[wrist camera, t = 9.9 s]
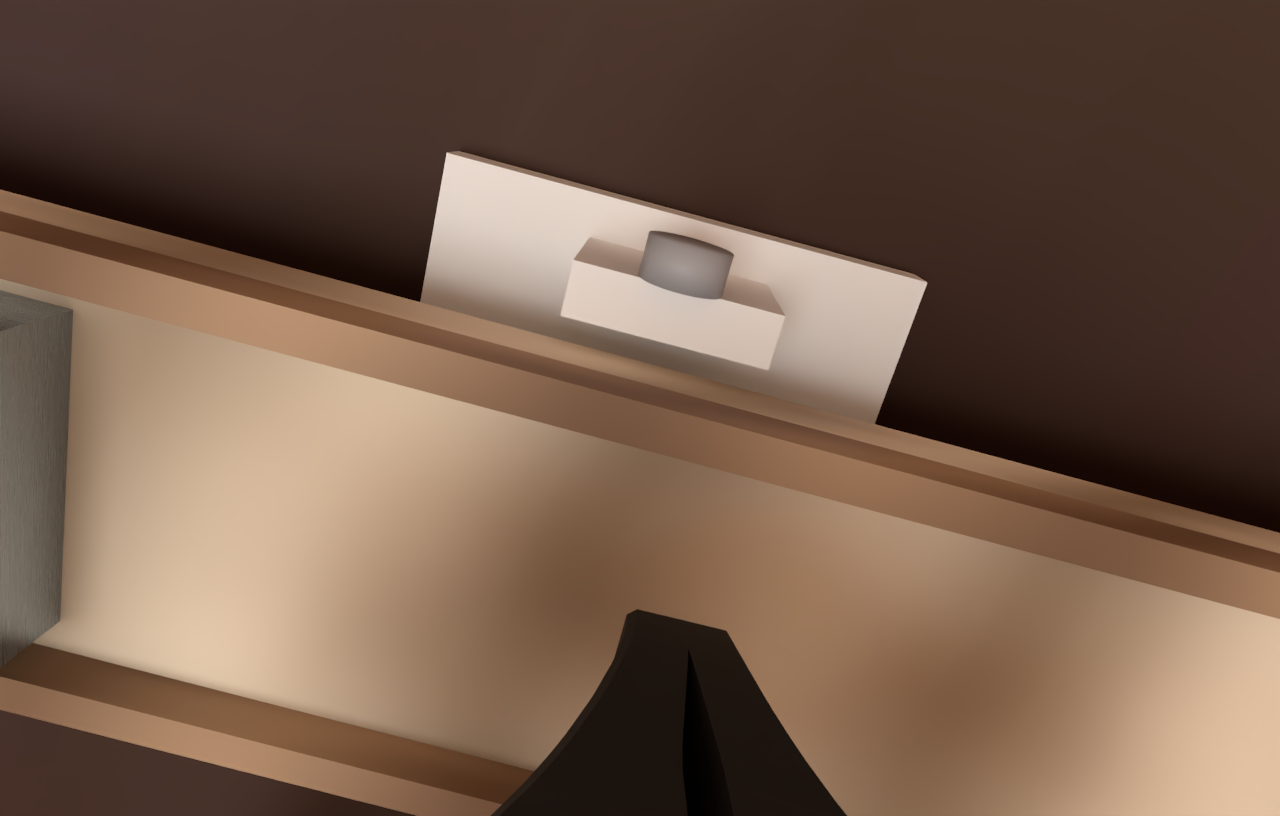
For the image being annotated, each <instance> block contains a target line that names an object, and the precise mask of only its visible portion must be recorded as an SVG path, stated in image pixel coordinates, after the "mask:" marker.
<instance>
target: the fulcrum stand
mask: <svg viewBox="0 0 1280 816" xmlns="http://www.w3.org/2000/svg"><path fill="white" fill-rule="evenodd" d="M926 285H927V282H926V281H924V280H923V279H921V278H920V277H918V276H916V275H915V274H912V273H908V272H905V271H901V270H897V269H894V268H890V267H886V266H882V265H879V264H875V263H871V262H868V261H864V260H860V259H857V258H853V257H849V256H845V255H842V254H838V253H834V252H831V251H827V250H823V249H819V248H816V247H812V246H808V245H805V244H801V243H797V242H794V241H790V240H786V239H782V238H779V237H775V236H771V235H768V234H764V233H760V232H757V231H753V230H749V229H745V228H742V227H738V226H734V225H731V224H727V223H723V222H720V221H716V220H712V219H708V218H705V217H701V216H697V215H694V214H690V213H686V212H683V211H679V210H675V209H671V208H668V207H664V206H660V205H657V204H653V203H649V202H646V201H642V200H638V199H634V198H631V197H627V196H623V195H620V194H616V193H612V192H609V191H605V190H601V189H597V188H594V187H590V186H586V185H583V184H579V183H575V182H572V181H568V180H564V179H560V178H557V177H553V176H549V175H546V174H542V173H538V172H535V171H531V170H527V169H523V168H520V167H516V166H512V165H509V164H505V163H501V162H498V161H494V160H490V159H486V158H483V157H479V156H475V155H472V154H468V153H464V152H461V151H456V152H448V153H447V154H446V160H445V166H444V171H443V177H442V183H441V188H440V194H439V199H438V205H437V211H436V216H435V222H434V228H433V233H432V239H431V245H430V250H429V256H428V261H427V267H426V273H425V278H424V284H423V290H422V295H421V301H420V302H421V303H425V304H429V305H432V306H436V307H440V308H444V309H447V310H451V311H455V312H458V313H462V314H466V315H470V316H473V317H477V318H481V319H485V320H488V321H492V322H496V323H499V324H503V325H507V326H511V327H514V328H518V329H522V330H526V331H529V332H533V333H537V334H540V335H544V336H548V337H552V338H555V339H559V340H563V341H567V342H570V343H574V344H578V345H581V346H585V347H589V348H593V349H596V350H600V351H604V352H608V353H611V354H615V355H619V356H622V357H626V358H630V359H634V360H637V361H641V362H645V363H648V364H652V365H656V366H660V367H663V368H667V369H671V370H675V371H678V372H682V373H686V374H689V375H693V376H697V377H701V378H704V379H708V380H712V381H716V382H719V383H723V384H727V385H730V386H734V387H738V388H742V389H745V390H749V391H753V392H757V393H760V394H764V395H768V396H771V397H775V398H779V399H783V400H786V401H790V402H794V403H797V404H801V405H805V406H809V407H812V408H816V409H820V410H824V411H827V412H831V413H835V414H838V415H842V416H846V417H850V418H853V419H857V420H861V421H865V422H868V423H872V424H875V421H876V419H877V416H878V413H879V411H880V408H881V405H882V403H883V400H884V397H885V395H886V392H887V389H888V387H889V384H890V381H891V379H892V376H893V373H894V371H895V368H896V365H897V363H898V360H899V357H900V355H901V352H902V349H903V347H904V344H905V341H906V339H907V336H908V333H909V331H910V328H911V325H912V322H913V320H914V317H915V314H916V312H917V309H918V306H919V304H920V301H921V298H922V296H923V293H924V290H925V288H926Z"/></svg>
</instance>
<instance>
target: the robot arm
mask: <svg viewBox="0 0 1280 816" xmlns="http://www.w3.org/2000/svg"><path fill="white" fill-rule="evenodd" d="M491 816H847V815H846V814H845V812H844V811H843V810H842V809H841V807H840V806H839V805H838V804H837V802H836V801H835V800H834V798H833V797H832V796H831V794H830V793H829V791H828V790H827V789H826V787H825V786H824V785H823V783H822V782H821V781H820V779H819V778H818V776H817V775H816V774H815V772H814V771H813V770H812V768H811V767H810V765H809V764H808V763H807V761H806V760H805V758H804V757H803V755H802V754H801V753H800V751H799V750H798V748H797V747H796V745H795V744H794V742H793V741H792V739H791V738H790V736H789V735H788V733H787V732H786V730H785V729H784V727H783V725H782V724H781V722H780V721H779V719H778V717H777V716H776V714H775V713H774V711H773V710H772V708H771V706H770V705H769V703H768V701H767V700H766V698H765V696H764V695H763V693H762V691H761V689H760V688H759V686H758V684H757V683H756V681H755V679H754V677H753V676H752V674H751V672H750V671H749V669H748V667H747V665H746V664H745V662H744V660H743V658H742V657H741V655H740V653H739V651H738V650H737V648H736V646H735V645H734V643H733V641H732V639H731V638H730V636H729V634H728V633H727V631H726V630H722V629H718V628H714V627H710V626H705V625H701V624H697V623H693V622H689V621H685V620H680V619H676V618H672V617H668V616H664V615H660V614H656V613H651V612H647V611H643V610H639V609H637V610H635V611H633V612H631V613H629V614H627V615H626V619H625V622H624V626H623V629H622V633H621V636H620V640H619V643H618V647H617V650H616V654H615V657H614V659H613V661H612V663H611V665H610V667H609V669H608V670H607V672H606V674H605V676H604V677H603V679H602V681H601V683H600V684H599V686H598V688H597V690H596V691H595V693H594V694H593V696H592V698H591V699H590V701H589V702H588V703H587V705H586V706H585V708H584V709H583V710H582V712H581V713H580V715H579V716H578V717H577V719H576V720H575V722H574V723H573V724H572V726H571V727H570V729H569V730H568V731H567V733H566V734H565V735H564V737H563V738H562V739H561V740H560V742H559V743H558V744H557V745H556V747H555V748H554V749H553V750H552V752H551V753H550V754H549V755H548V756H547V758H546V759H545V760H544V761H543V762H542V763H541V764H540V765H539V767H538V768H537V769H536V770H535V771H534V772H533V773H532V774H531V776H530V777H529V778H528V779H527V780H526V781H525V782H524V783H523V784H522V785H521V786H520V787H519V788H518V789H517V790H516V791H515V792H514V793H513V794H512V795H511V796H510V797H509V798H508V799H507V800H506V801H505V802H504V803H503V804H502V805H501V806H500V807H499V808H498V809H497V810H496V811H495V812H494V813H493V814H492V815H491Z"/></svg>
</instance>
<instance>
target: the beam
mask: <svg viewBox="0 0 1280 816" xmlns="http://www.w3.org/2000/svg"><path fill="white" fill-rule="evenodd" d="M0 290H2V291H5V292H9V293H13V294H17V295H20V296H24V297H28V298H32V299H35V300H39V301H43V302H47V303H51V304H54V305H58V306H62V307H66V308H69V309H73V329H72V353H71V377H70V400H69V424H68V448H67V472H66V496H65V519H64V543H63V567H62V591H61V615H60V622H58V623H57V624H56V625H54V626H53V627H52V628H51V629H49V630H48V631H47V632H45V633H44V634H43V635H42V636H40V637H39V638H38V639H36V640H35V641H34V642H33V643H31V644H30V645H29V646H27V647H26V648H25V649H24V650H22V651H21V652H20V653H18V654H17V655H16V656H15V657H13V658H12V659H11V660H10V661H8V662H7V663H6V664H4V665H3V666H2V667H1V668H0V710H4V711H8V712H12V713H15V714H19V715H23V716H27V717H31V718H35V719H39V720H43V721H47V722H51V723H55V724H59V725H63V726H67V727H71V728H74V729H78V730H82V731H86V732H90V733H94V734H98V735H102V736H106V737H110V738H114V739H118V740H122V741H126V742H130V743H133V744H137V745H141V746H145V747H149V748H153V749H157V750H161V751H165V752H169V753H173V754H177V755H181V756H185V757H189V758H192V759H196V760H200V761H204V762H208V763H212V764H216V765H220V766H224V767H228V768H232V769H236V770H240V771H244V772H247V773H251V774H255V775H259V776H263V777H267V778H271V779H275V780H279V781H283V782H287V783H291V784H295V785H299V786H303V787H306V788H310V789H314V790H318V791H322V792H326V793H330V794H334V795H338V796H342V797H346V798H350V799H354V800H358V801H362V802H365V803H369V804H373V805H377V806H381V807H385V808H389V809H393V810H397V811H401V812H405V813H409V814H413V815H417V816H491V815H492V814H493V813H494V812H495V811H496V810H497V809H498V808H499V807H500V806H501V805H502V804H503V803H504V802H505V801H506V800H507V799H508V798H509V797H510V796H511V795H512V794H513V793H514V792H515V791H516V790H517V789H518V788H519V787H520V786H521V785H522V784H523V783H524V782H525V781H526V780H527V779H528V778H529V777H530V776H531V774H532V773H533V772H534V771H535V770H536V769H537V768H538V767H539V765H540V764H541V763H542V762H543V761H544V760H545V759H546V758H547V756H548V755H549V754H550V753H551V752H552V750H553V749H554V748H555V747H556V745H557V744H558V743H559V742H560V740H561V739H562V738H563V737H564V735H565V734H566V733H567V731H568V730H569V729H570V727H571V726H572V724H573V723H574V722H575V720H576V719H577V717H578V716H579V715H580V713H581V712H582V710H583V709H584V708H585V706H586V705H587V703H588V702H589V701H590V699H591V698H592V696H593V694H594V693H595V691H596V690H597V688H598V686H599V684H600V683H601V681H602V679H603V677H604V676H605V674H606V672H607V670H608V669H609V667H610V665H611V663H612V661H613V659H614V657H615V654H616V650H617V647H618V643H619V640H620V636H621V633H622V629H623V626H624V622H625V619H626V615H627V614H629V613H631V612H633V611H635V610H637V609H639V610H643V611H647V612H651V613H656V614H660V615H664V616H668V617H672V618H676V619H680V620H685V621H689V622H693V623H697V624H701V625H705V626H710V627H714V628H718V629H722V630H726V631H727V633H728V634H729V636H730V638H731V639H732V641H733V643H734V645H735V646H736V648H737V650H738V651H739V653H740V655H741V657H742V658H743V660H744V662H745V664H746V665H747V667H748V669H749V671H750V672H751V674H752V676H753V677H754V679H755V681H756V683H757V684H758V686H759V688H760V689H761V691H762V693H763V695H764V696H765V698H766V700H767V701H768V703H769V705H770V706H771V708H772V710H773V711H774V713H775V714H776V716H777V717H778V719H779V721H780V722H781V724H782V725H783V727H784V729H785V730H786V732H787V733H788V735H789V736H790V738H791V739H792V741H793V742H794V744H795V745H796V747H797V748H798V750H799V751H800V753H801V754H802V755H803V757H804V758H805V760H806V761H807V763H808V764H809V765H810V767H811V768H812V770H813V771H814V772H815V774H816V775H817V776H818V778H819V779H820V781H821V782H822V783H823V785H824V786H825V787H826V789H827V790H828V791H829V793H830V794H831V796H832V797H833V798H834V800H835V801H836V802H837V804H838V805H839V806H840V807H841V809H842V810H843V811H844V812H845V814H846V815H847V816H1280V533H1278V532H1274V531H1271V530H1267V529H1263V528H1259V527H1256V526H1252V525H1248V524H1245V523H1241V522H1237V521H1233V520H1230V519H1226V518H1222V517H1218V516H1215V515H1211V514H1207V513H1204V512H1200V511H1196V510H1192V509H1189V508H1185V507H1181V506H1177V505H1174V504H1170V503H1166V502H1163V501H1159V500H1155V499H1151V498H1148V497H1144V496H1140V495H1137V494H1133V493H1129V492H1125V491H1122V490H1118V489H1114V488H1110V487H1107V486H1103V485H1099V484H1096V483H1092V482H1088V481H1084V480H1081V479H1077V478H1073V477H1069V476H1066V475H1062V474H1058V473H1055V472H1051V471H1047V470H1043V469H1040V468H1036V467H1032V466H1028V465H1025V464H1021V463H1017V462H1014V461H1010V460H1006V459H1002V458H999V457H995V456H991V455H987V454H984V453H980V452H976V451H973V450H969V449H965V448H961V447H958V446H954V445H950V444H947V443H943V442H939V441H935V440H932V439H928V438H924V437H920V436H917V435H913V434H909V433H906V432H902V431H898V430H894V429H891V428H887V427H883V426H879V425H876V424H872V423H868V422H865V421H861V420H857V419H853V418H850V417H846V416H842V415H838V414H835V413H831V412H827V411H824V410H820V409H816V408H812V407H809V406H805V405H801V404H797V403H794V402H790V401H786V400H783V399H779V398H775V397H771V396H768V395H764V394H760V393H757V392H753V391H749V390H745V389H742V388H738V387H734V386H730V385H727V384H723V383H719V382H716V381H712V380H708V379H704V378H701V377H697V376H693V375H689V374H686V373H682V372H678V371H675V370H671V369H667V368H663V367H660V366H656V365H652V364H648V363H645V362H641V361H637V360H634V359H630V358H626V357H622V356H619V355H615V354H611V353H608V352H604V351H600V350H596V349H593V348H589V347H585V346H581V345H578V344H574V343H570V342H567V341H563V340H559V339H555V338H552V337H548V336H544V335H540V334H537V333H533V332H529V331H526V330H522V329H518V328H514V327H511V326H507V325H503V324H499V323H496V322H492V321H488V320H485V319H481V318H477V317H473V316H470V315H466V314H462V313H458V312H455V311H451V310H447V309H444V308H440V307H436V306H432V305H429V304H425V303H421V302H418V301H414V300H410V299H406V298H403V297H399V296H395V295H391V294H388V293H384V292H380V291H377V290H373V289H369V288H365V287H362V286H358V285H354V284H350V283H347V282H343V281H339V280H336V279H332V278H328V277H324V276H321V275H317V274H313V273H309V272H306V271H302V270H298V269H295V268H291V267H287V266H283V265H280V264H276V263H272V262H269V261H265V260H261V259H257V258H254V257H250V256H246V255H242V254H239V253H235V252H231V251H228V250H224V249H220V248H216V247H213V246H209V245H205V244H201V243H198V242H194V241H190V240H187V239H183V238H179V237H175V236H172V235H168V234H164V233H160V232H157V231H153V230H149V229H146V228H142V227H138V226H134V225H131V224H127V223H123V222H119V221H116V220H112V219H108V218H105V217H101V216H97V215H93V214H90V213H86V212H82V211H79V210H75V209H71V208H67V207H64V206H60V205H56V204H52V203H49V202H45V201H41V200H38V199H34V198H30V197H26V196H23V195H19V194H15V193H11V192H8V191H4V190H0Z"/></svg>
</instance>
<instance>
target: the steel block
mask: <svg viewBox="0 0 1280 816" xmlns="http://www.w3.org/2000/svg"><path fill="white" fill-rule="evenodd" d="M72 329H73V309H69V308H66V307H62V306H58V305H54V304H51V303H47V302H43V301H39V300H35V299H32V298H28V297H24V296H20V295H17V294H13V293H9V292H5V291H2V290H0V668H1V667H2V666H3V665H4V664H6V663H7V662H8V661H10V660H11V659H12V658H13V657H15V656H16V655H17V654H18V653H20V652H21V651H22V650H24V649H25V648H26V647H27V646H29V645H30V644H31V643H33V642H34V641H35V640H36V639H38V638H39V637H40V636H42V635H43V634H44V633H45V632H47V631H48V630H49V629H51V628H52V627H53V626H54V625H56V624H57V623H58V622H60V615H61V591H62V567H63V543H64V519H65V496H66V472H67V448H68V424H69V400H70V377H71V353H72Z"/></svg>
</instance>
